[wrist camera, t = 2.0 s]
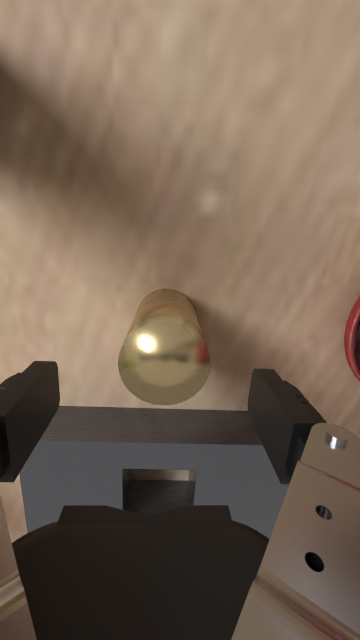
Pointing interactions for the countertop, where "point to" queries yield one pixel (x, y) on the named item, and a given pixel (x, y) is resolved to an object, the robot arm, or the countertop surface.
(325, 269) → the countertop surface
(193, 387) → the gold cylinder
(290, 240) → the countertop surface
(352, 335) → the plant pot
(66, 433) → the jig
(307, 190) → the countertop surface
